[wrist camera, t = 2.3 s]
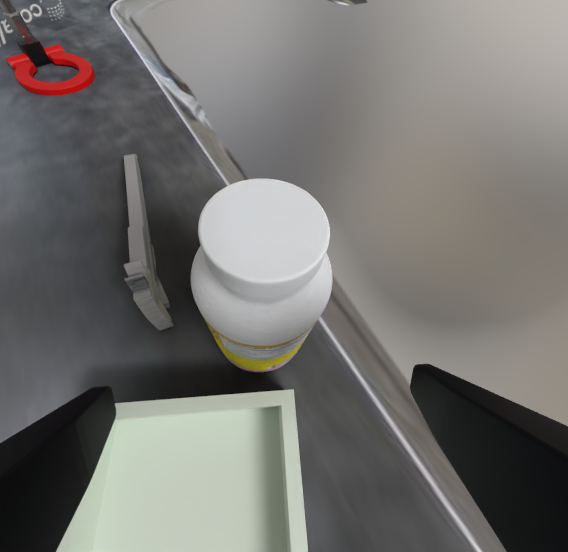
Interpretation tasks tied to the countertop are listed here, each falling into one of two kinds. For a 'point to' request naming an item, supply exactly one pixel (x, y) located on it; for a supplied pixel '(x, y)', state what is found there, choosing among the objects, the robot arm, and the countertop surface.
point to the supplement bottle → (261, 270)
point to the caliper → (143, 253)
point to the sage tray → (196, 478)
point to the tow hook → (42, 59)
